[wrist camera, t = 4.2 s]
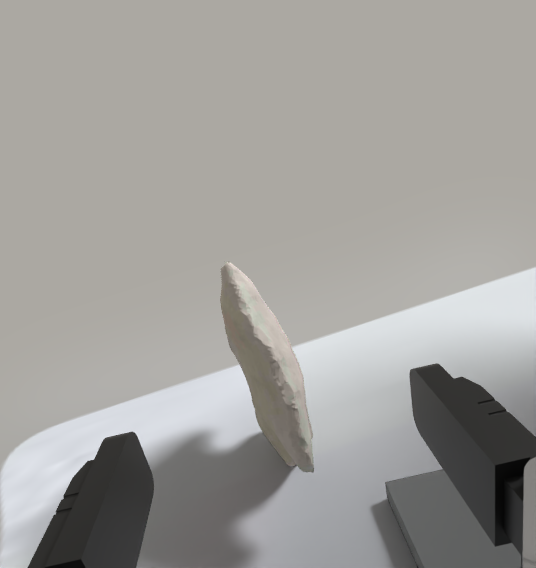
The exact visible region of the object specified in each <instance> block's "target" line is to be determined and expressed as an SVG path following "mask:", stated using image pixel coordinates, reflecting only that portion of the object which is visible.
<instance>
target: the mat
mask: <svg viewBox="0 0 536 568" xmlns="http://www.w3.org/2000/svg"><path fill="white" fill-rule="evenodd" d="M385 484H386V492H387V498H388V500H389V503H390V505H391V507H392V510H393V512H394V514H395V516H396V519H397V521H398V523H399V525H400V528H401V530H402V532H403V534H404V537H405V539H406V541H407V543H408V546H409V548H410V550H411V552H412V555H413V557H414V559H415V561H416V564H417V566H418V568H521V555H520V553H519V552H518V550H517V549H516V548H515V546H514V545H513V543H509V544H505V545H500V546H496V547H495V546H494V545H493V543H492V542H491V540H490V539H489V537H488V536H487V534H486V532H485V531H484V529H483V528H482V526H481V525H480V523H479V522H478V520H477V519H476V517H475V516H474V514H473V513H472V511H471V510H470V508H469V507H468V505H467V504H466V502H465V501H464V499H463V498H462V496H461V495H460V493H459V492H458V490H457V489H456V487H455V486H454V484H453V483H452V481H451V480H450V478H449V477H448V475H447V474H446V472H445V471H444V469H443V470H438V471H434V472H429V473H425V474H420V475H416V476H411V477H407V478H403V479H398V480H394V481H389V482H385Z"/></svg>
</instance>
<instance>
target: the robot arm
mask: <svg viewBox="0 0 536 568" xmlns="http://www.w3.org/2000/svg"><path fill="white" fill-rule="evenodd" d="M410 386H411V397H412V408H413V416H414V420H415V423H416V426H417V428H418V431H419V433H420V435H421V436H422V438H423V439H424V441H425V442H426V444H427V445H428V447H429V448H430V450H431V451H432V453H433V454H434V456H435V457H436V459H437V460H438V462H439V463H440V465H441V466H442V468H443V469H444V471H445V472H446V474H447V475H448V477H449V478H450V480H451V481H452V483H453V484H454V486H455V487H456V489H457V490H458V492H459V493H460V495H461V496H462V498H463V499H464V501H465V502H466V504H467V505H468V507H469V508H470V510H471V511H472V513H473V514H474V516H475V517H476V519H477V520H478V522H479V523H480V525H481V526H482V528H483V529H484V531H485V532H486V534H487V536H488V537H489V539H490V540H491V542H492V543H493V545H494V546H495V547H496V546H500V545H505V544H509V543H513V545H514V546H515V548H516V549H517V550H518V552H519V553H520V555H521V568H536V437H535V436H534V435H533V434H532V433H531V432H530V431H528V430H527V429H526V428H525V427H524V426H523V425H522V424H521V423H520V422H519V421H518V420H517V419H516V418H515V417H514V416H512V415H511V414H510V413H509V412H508V413H507V411H506V409H505V408H504V407H503V406H502V405H501V404H500V403H499V402H497V401H495V399H494V398H493V397H492V396H491V395H490V394H489V393H488V392H487V391H486V390H485V389H484V388H483V387H481V386H480V385H478V384H476V383H474V382H472V381H470V380H468V379H466V378H463V377H459V378H455V379H453V378H452V377H451V376H450V375H449V374H448V373H447V372H446V371H445V369H444V368H443V367H442V366H440V365H439V364H432V365H428V366H423V367H419V368H415V369H411V370H410ZM153 491H154V484H153V476H152V472H151V470H150V467H149V465H148V462H147V460H146V457H145V455H144V452H143V450H142V447H141V445H140V442H139V440H138V437H137V435H136V434H135V433H134V432H129V433H124V434H120V435H116V436H111V437H107V438H105V439H104V440H103V442H102V444H101V446H100V448H99V450H98V452H97V455H96V457H95V459H94V460H91V461H87V462H86V463H85V465H84V466H83V467H82V468H81V469H80V470H79V471H78V472H77V474H76V475H75V476H74V477H73V478H72V480H71V482H70V484H69V486H68V488H67V490H66V492H65V494H64V499H63V500H61V502H60V504H59V506H58V508H57V510H56V515H54V516H53V518H52V520H51V522H50V524H49V526H48V528H47V530H46V532H45V534H44V536H43V538H42V540H41V542H40V544H39V546H38V548H37V550H36V552H35V554H34V556H33V558H32V560H31V562H30V564H29V566H28V568H136V565H137V561H138V557H139V553H140V548H141V544H142V540H143V536H144V532H145V527H146V523H147V519H148V515H149V511H150V506H151V502H152V498H153Z"/></svg>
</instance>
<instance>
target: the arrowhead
mask: <svg viewBox="0 0 536 568" xmlns="http://www.w3.org/2000/svg"><path fill="white" fill-rule="evenodd" d="M221 275H222V290H221V299H220V301H221V309H222V314H223V318H224V323H225V329H226V334H227V338H228V342H229V345H230V348H231V350H232V352H233V353H234V355H235V356H236V358H237V360H238V362H239V364H240V366H241V368H242V370H243V373H244V375H245V377H246V380H247V383H248V386H249V388H250V392H251V396H252V401H253V405H254V408H255V413H256V418H257V421H258V424H259V426H260V428H261V430H262V432H263V433H264V435H265V436H266V437H267V439H268V440H269V442H270V443H271V444H272V446H273V447H274V448H275V450H276V451H277V452H278V454H279V455H280V456H281V457H282V459H283V460H284V461H285V462H286V464H287V465H288V466H295V465H296V464H297V466H298V467H299V468H300V469H301V470H302V471H303V472H313V471H314V465H313V453H312V440H311V439H312V437H313V433H312V428H311V424H310V420H309V416H308V411H307V406H306V398H305V389H304V380H303V375H302V372H301V369H300V366H299V363H298V361H297V358H296V356H295V354H294V352H293V350H292V347H291V344H290V341H289V339H288V337H287V336H286V334H285V333H284V331H283V329H282V328H281V326H280V324H279V323H278V321H277V318H276V317H275V315H274V314H273V313H272V312H271V310H270V309H269V308H268V306H267V305H266V303H265V302H264V300H263V299H262V297H261V296H260V294H259V292H258V291H257V289H256V287H255V286H254V284H253V283H252V281H251V280H250V279H249V278H248V277H247V276H246V275H245V274H244V273H242V272H241V271H240V270H239V269H238V268H236V267H235V266H234V265H233V264H232V263H230V262H228V263H227V262H225V266H224V267H222V268H221Z"/></svg>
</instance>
